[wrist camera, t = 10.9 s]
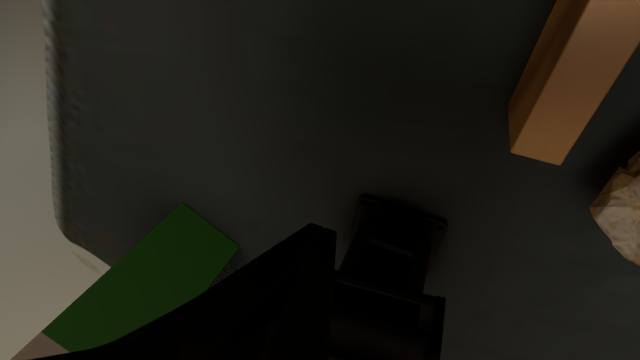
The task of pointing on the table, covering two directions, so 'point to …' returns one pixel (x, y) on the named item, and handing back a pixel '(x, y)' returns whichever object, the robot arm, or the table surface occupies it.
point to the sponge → (621, 209)
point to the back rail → (570, 74)
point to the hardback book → (140, 286)
